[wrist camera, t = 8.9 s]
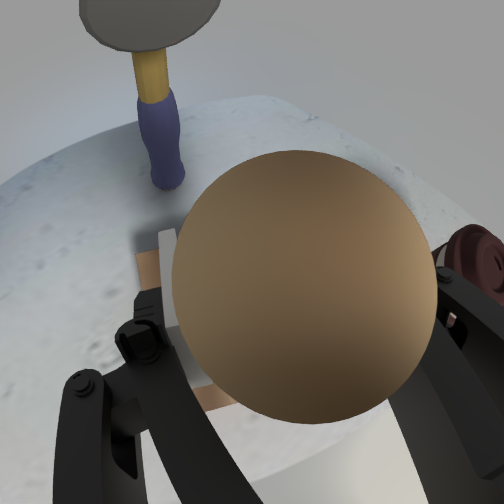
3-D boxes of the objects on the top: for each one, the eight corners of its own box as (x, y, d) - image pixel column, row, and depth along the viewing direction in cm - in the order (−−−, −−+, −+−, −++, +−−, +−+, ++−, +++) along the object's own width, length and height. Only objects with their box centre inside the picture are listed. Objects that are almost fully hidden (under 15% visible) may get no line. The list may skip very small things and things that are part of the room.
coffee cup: (380, 337, 33) (470, 323, 19) (378, 257, 36) (457, 208, 22) (438, 335, 34) (525, 319, 20) (435, 264, 37) (513, 226, 23)
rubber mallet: (131, 150, 36) (84, -75, 8) (187, 135, 38) (189, -94, 10) (150, 236, 33) (56, -43, 5) (213, 217, 35) (246, -73, 7)
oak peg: (212, 379, 17) (215, 474, 3) (190, 303, 18) (137, 171, 5) (288, 357, 18) (468, 358, 4) (266, 283, 19) (381, 135, 6)
